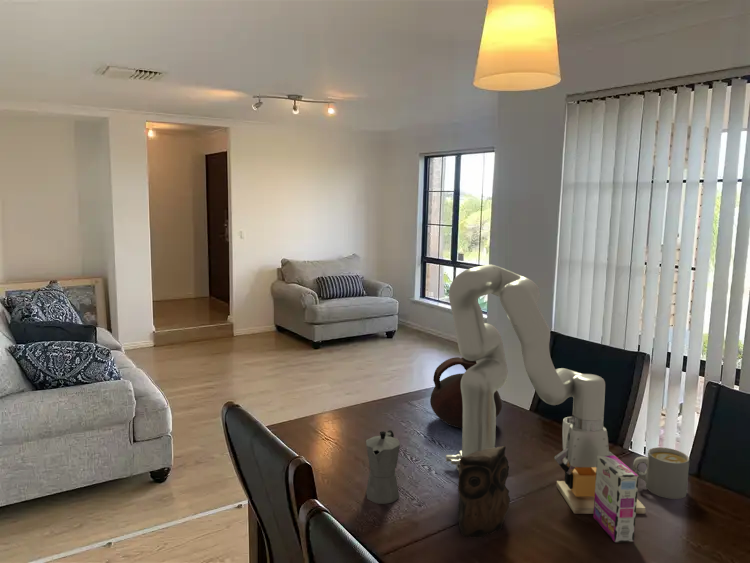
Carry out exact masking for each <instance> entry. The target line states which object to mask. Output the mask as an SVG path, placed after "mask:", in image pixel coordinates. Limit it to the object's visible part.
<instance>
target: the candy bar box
mask: <svg viewBox="0 0 750 563" xmlns="http://www.w3.org/2000/svg"><path fill="white" fill-rule="evenodd" d="M638 488H639V476H638V475H637V474H636V473H635V472H634V470H633V469H631V468H630V467H629V466H628V465H627V464H625V463H624V462H623V461H622V460H621V459H620V458H618V456H617V455H615V456H597V467H596V483H595V499H594V514H593V519H594V520H595V521H596V522H597V523H598V524H599V526H600V527H601V528H602V530H604V532H605V533H606V534H607V535H608V536H609V537H610V538H611V540H612V541H613V542H614V543H633V542H634V541H635V528H636V516H637V513H636V504H637V499H638V491H639V490H638Z"/></svg>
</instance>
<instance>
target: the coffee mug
mask: <svg viewBox="0 0 750 563" xmlns="http://www.w3.org/2000/svg"><path fill="white" fill-rule="evenodd" d="M647 452H648V453H647V456H638V457H635V459H634V460H633V463H632V471H634V472H635V473H636V474H637V475H638V476H639V477H638V479H639V478H640V479H642V480H643V481H644V482H645V487H646V489H647V490H648V491H649V492H650V493H651V494H654V495H656V496H659V497H660V498H665V499H669V500H671V499H672V500H679V499H684V498H685V497H686V496H687V492H688V480H689V479H688V478H689V467H690V457H689V456H688V455H687V454H686V453H684V452H682V451H679V450H678V449H675V448H674V449H673V448H669V447H658V446H657V447H652V448H650V449H649V450H648V451H647ZM640 464H644V465H646V468H645V471H643V472H642V471H639V465H640Z"/></svg>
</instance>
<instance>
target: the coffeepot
mask: <svg viewBox="0 0 750 563" xmlns="http://www.w3.org/2000/svg"><path fill="white" fill-rule="evenodd" d="M379 434H380V435H374V436H372V437H369V438H368V439H366V440H365V443H366V444H365V445H366V449H367V450H366V451H367V457H368V464H369V465H368V466H369V470H370V471H369V473H368V480H367V484H366V485H367V486H366V490H365V493H366V499H367V500H368V501H369V502H371V501H372V502H371V503H374V504H377V503H378V505H388V504H391V503H394V502H396V501H397V500H398V499H399V498H400V493H399V486H398V481H397V480H398V479H397V474H396V468H397V466H398V459H399V455H400V454H399V453H400V447H401V444H400V443H401V442H400V441H399V438H396V437H395V434H394V431H393V430H391V429H388V430H387V432H386V431H383V430H382V431H379Z"/></svg>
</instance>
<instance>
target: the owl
mask: <svg viewBox="0 0 750 563" xmlns="http://www.w3.org/2000/svg"><path fill="white" fill-rule="evenodd" d="M505 451H506V446H505V445H502V446H498V447H495V448H490V449H484V450H482V451H476V452H474V453H471V454H469V455H467V456H465V457H464V456H463V457H462V458H461V459H460V468H459V471H458V487H457V488H458V496H459V497H458V498H459V499H458V505H457V506H458V507H457V508H458V509H457V519H458V527H459V532H460V534H461V535H462V536H463V537H465V538H472V539H481V538H482V539H483V538H484V537H485V536H487V535H490V536H491V535H492V534H493V533H496V532H500V531H501V529H503V523H504V522H505V518H506V516H507V513H508V510H509V506H510V502H511V498H510V495H509V493H510V490H509V489H508V487H506V482H507V478H508V477H509V472H510V470H509V469H510V466H509V460H508V459H507V456H506V454H505V453H506V452H505Z"/></svg>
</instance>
